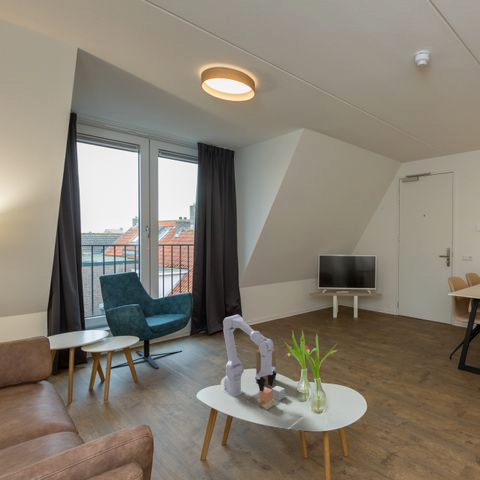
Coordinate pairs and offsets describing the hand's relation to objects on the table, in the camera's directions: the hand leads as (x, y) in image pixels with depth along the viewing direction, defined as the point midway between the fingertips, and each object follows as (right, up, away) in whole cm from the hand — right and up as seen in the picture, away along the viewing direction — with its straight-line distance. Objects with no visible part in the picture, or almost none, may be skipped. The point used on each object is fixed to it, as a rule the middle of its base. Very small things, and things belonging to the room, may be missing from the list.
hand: (266, 388), depth 171 cm
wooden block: (+2, -9, +28) cm, 29 cm away
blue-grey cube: (+7, -9, +8) cm, 14 cm away
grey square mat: (+1, -9, +7) cm, 11 cm away
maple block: (0, -9, 0) cm, 9 cm away
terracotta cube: (0, -6, 0) cm, 6 cm away
